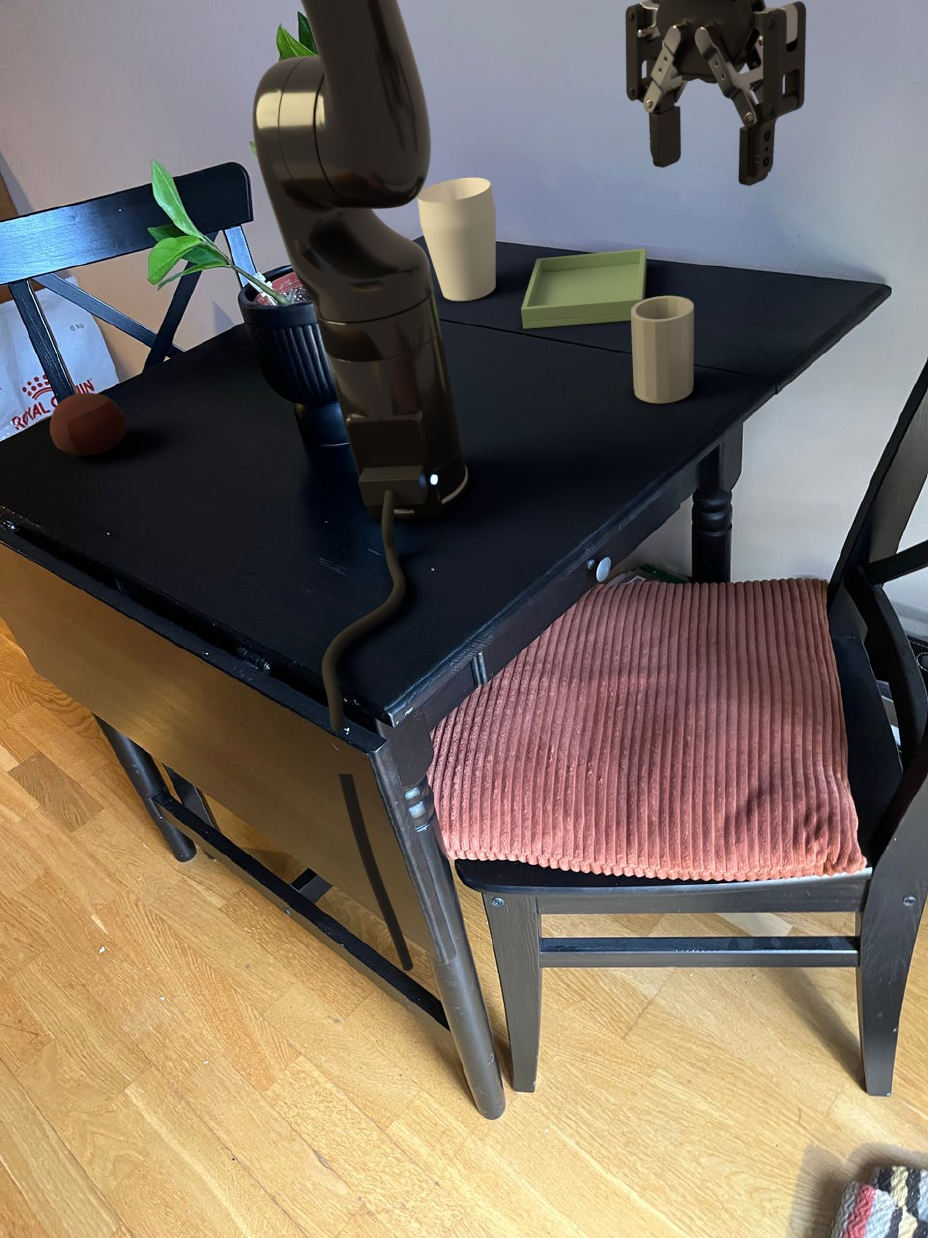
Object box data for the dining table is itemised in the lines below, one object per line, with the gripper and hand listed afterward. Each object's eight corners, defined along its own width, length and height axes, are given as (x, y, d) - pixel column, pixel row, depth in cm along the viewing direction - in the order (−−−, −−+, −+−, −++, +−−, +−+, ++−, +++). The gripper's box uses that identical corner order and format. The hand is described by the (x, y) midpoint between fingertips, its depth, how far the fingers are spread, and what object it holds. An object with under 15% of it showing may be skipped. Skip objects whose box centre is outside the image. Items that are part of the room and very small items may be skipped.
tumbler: (693, 401, 85) (694, 318, 80) (633, 405, 86) (629, 323, 81) (692, 374, 89) (693, 293, 84) (635, 377, 90) (632, 298, 85)
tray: (642, 319, 100) (642, 298, 99) (523, 328, 103) (521, 308, 102) (646, 267, 111) (646, 248, 110) (538, 277, 114) (536, 258, 113)
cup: (495, 304, 110) (481, 199, 102) (424, 307, 112) (405, 205, 105) (512, 274, 116) (500, 173, 108) (444, 278, 119) (428, 180, 111)
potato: (76, 478, 92) (49, 425, 88) (53, 451, 98) (28, 400, 94) (144, 449, 95) (121, 396, 91) (118, 424, 101) (96, 373, 97)
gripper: (587, -90, 59) (604, 174, 70) (755, -103, 50) (746, 206, 60) (673, -115, 62) (677, 144, 72) (850, -132, 52) (825, 170, 63)
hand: (708, 172), depth 66 cm, fingers open, 8 cm apart
